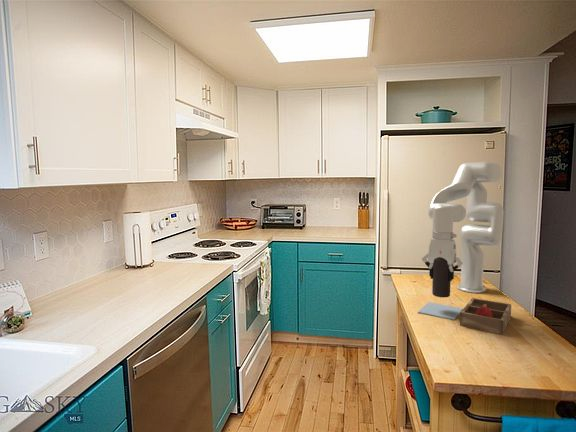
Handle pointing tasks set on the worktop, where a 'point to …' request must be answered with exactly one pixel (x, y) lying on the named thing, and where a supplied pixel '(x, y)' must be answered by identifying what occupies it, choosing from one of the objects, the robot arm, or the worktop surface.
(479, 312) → the onion
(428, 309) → the mat
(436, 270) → the vinegar
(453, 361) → the worktop surface
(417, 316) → the worktop surface
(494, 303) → the rack
